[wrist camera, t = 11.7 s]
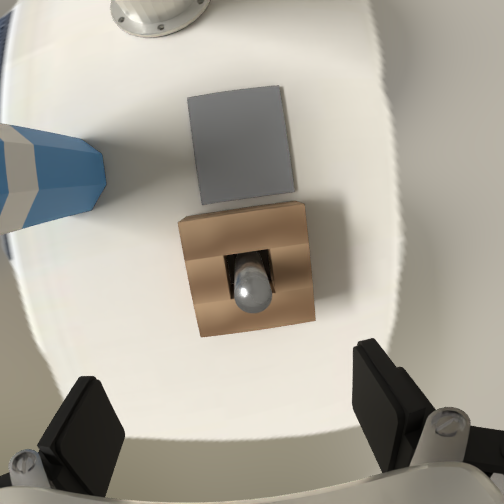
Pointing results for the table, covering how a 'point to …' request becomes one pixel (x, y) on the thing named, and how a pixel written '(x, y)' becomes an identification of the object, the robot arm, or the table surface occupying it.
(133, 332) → the table surface
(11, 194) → the water bottle
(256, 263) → the peg
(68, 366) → the table surface
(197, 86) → the table surface
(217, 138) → the mat
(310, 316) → the socket block
